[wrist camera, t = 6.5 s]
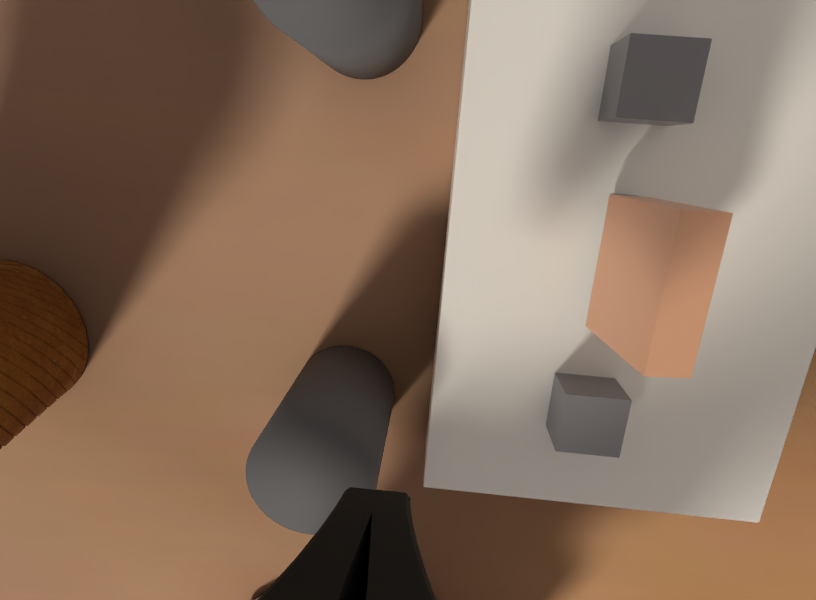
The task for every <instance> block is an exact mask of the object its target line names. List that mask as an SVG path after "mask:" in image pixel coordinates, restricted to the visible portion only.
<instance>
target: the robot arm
mask: <svg viewBox="0 0 816 600" xmlns="http://www.w3.org/2000/svg"><path fill="white" fill-rule="evenodd" d="M255 600H436V599H435V596H434V593H433V591H432V588H431V585H430V583H429V580H428V577H427V574H426V571H425V568H424V565H423V561H422V558H421V555H420V552H419V548H418V544H417V541H416V537H415V532H414V528H413V523H412V517H411V508H410V497H409V496H408V495H407V494H406V493H401V492H392V491H382V490H373V489H364V488H354V487H350V488H348V489H347V490H345V491H344V493H343V495H342V497H341V498H340V500H339V501H338V503H337V505H336V506H335V508H334V509H333V511H332V512H331V513H330V515H329V516H328V518H327V519H326V520H325V522H324V523H323V525H322V526H321V527H320V529H319V530H318V531H317V532H316V534H315V535H314V536H313V538H312V539H311V540H310V541H309V543H308V544H307V545H306V546H305V548H304V549H303V550H302V551H301V553H300V554H299V555H298V556H297V557H296V559H295V560H294V561H293V562H292V563H291V564H290V565H289V566H288V567H287V569H286V570H285V571H284V572H283V573H282V574H281V575H280V576H279V577H278V579H277V580H276V581H275V582H274V583H273V584H272V585H271V586H270V587H269V588H268V589H267V590H266V591H265V592H264V593H263V594H262V596H260V597H258V598H257V599H255Z"/></svg>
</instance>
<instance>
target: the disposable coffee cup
mask: <svg viewBox="0 0 816 600" xmlns="http://www.w3.org/2000/svg"><path fill="white" fill-rule="evenodd" d="M87 357H88V341H87V335H86V329H85V326H84V324H83V321H82V318H81V316H80V314H79V312H78V310H77V309H76V307H75V305H74V303H73V302H72V301H71V300H70V298H69V297H68V296H67V295H66V294H65V293H64V291H63V290H62V289H61V288H60V287H59V286H58V285H57V284H55V283H54V282H53V281H52V280H51V279H49V278H48V277H47V276H45V275H44V274H42V273H41V272H39V271H37V270H35V269H33V268H31V267H28V266H26V265H24V264H20V263H17V262H13V261H9V260H0V449H1V448H2V447H1V446H6V445H7V444H8V443H9V442H10V441H11V440H12V439H13V438H14V436H17V435H18V434H19V433H20V432H21V431H22V430H23V429H24V428H25V426H28V425H29V424H30V423H31V422H32V421H33V420H34V419H36V418H37V417H36V416H40V415H41V414H42V413H43V412H44V411H45V410H46V409H47V407H50V406H51V405H52V404H53V403H54V402H55V401H56V398H57V399H59V398H60V397H61V396H62V395H63V394H64V393H66V392H67V391H68V390H69V389H71V388H72V387H73V385H74V384H75V383H76V382H77V381H78V379H79V378H80V376H81V375H82V373H83V371H84V368H85V365H86V361H87Z"/></svg>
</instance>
